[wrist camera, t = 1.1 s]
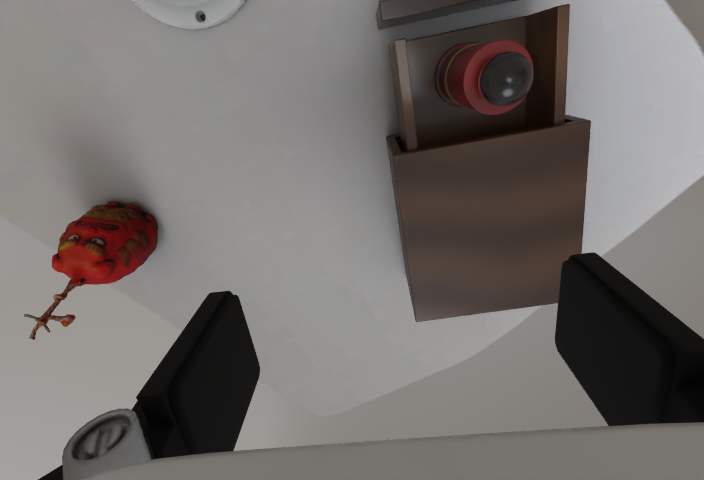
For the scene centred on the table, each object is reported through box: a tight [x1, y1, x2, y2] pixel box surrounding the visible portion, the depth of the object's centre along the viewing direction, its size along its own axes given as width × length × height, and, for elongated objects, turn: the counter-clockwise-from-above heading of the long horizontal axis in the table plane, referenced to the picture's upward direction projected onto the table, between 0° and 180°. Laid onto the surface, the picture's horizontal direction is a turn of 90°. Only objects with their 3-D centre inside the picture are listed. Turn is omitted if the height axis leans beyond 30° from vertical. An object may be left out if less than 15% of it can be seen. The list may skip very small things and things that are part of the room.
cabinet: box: [386, 115, 591, 322], centre depth 35 cm, size 16×14×9 cm
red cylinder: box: [434, 40, 534, 115], centre depth 27 cm, size 5×5×12 cm
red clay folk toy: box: [24, 202, 158, 340], centre depth 34 cm, size 8×7×15 cm
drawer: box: [376, 0, 570, 152], centre depth 30 cm, size 19×13×7 cm
